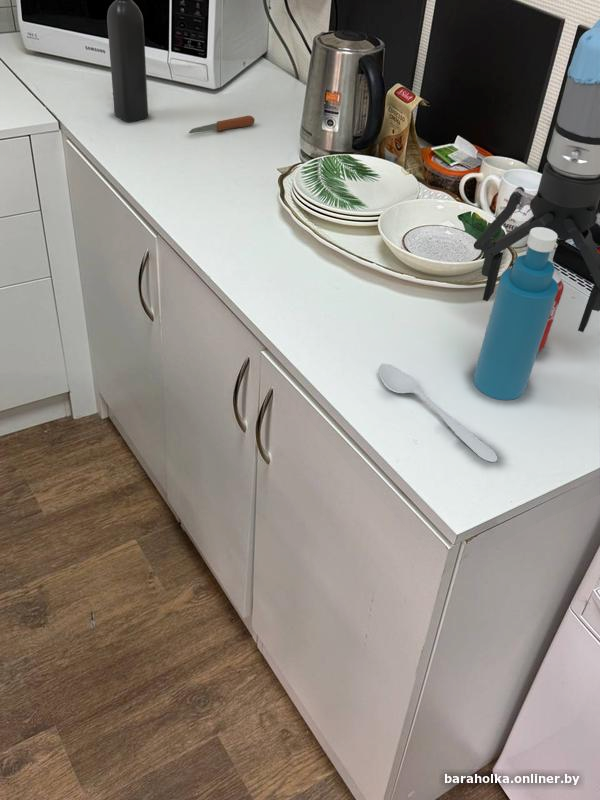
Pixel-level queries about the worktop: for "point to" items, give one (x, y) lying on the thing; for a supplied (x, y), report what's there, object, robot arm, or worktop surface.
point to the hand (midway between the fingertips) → (534, 311)
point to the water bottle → (518, 320)
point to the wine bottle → (127, 60)
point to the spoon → (406, 384)
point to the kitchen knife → (226, 124)
